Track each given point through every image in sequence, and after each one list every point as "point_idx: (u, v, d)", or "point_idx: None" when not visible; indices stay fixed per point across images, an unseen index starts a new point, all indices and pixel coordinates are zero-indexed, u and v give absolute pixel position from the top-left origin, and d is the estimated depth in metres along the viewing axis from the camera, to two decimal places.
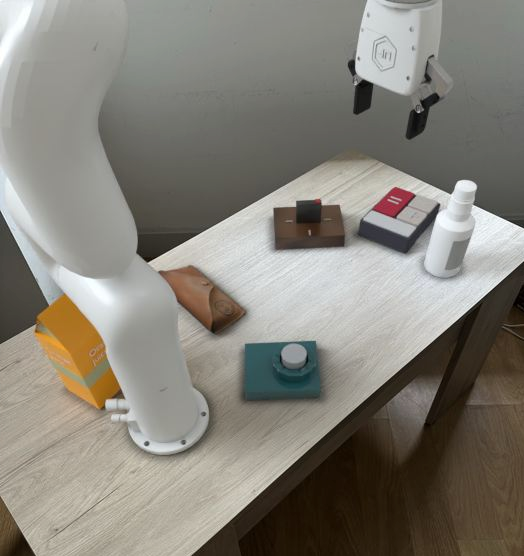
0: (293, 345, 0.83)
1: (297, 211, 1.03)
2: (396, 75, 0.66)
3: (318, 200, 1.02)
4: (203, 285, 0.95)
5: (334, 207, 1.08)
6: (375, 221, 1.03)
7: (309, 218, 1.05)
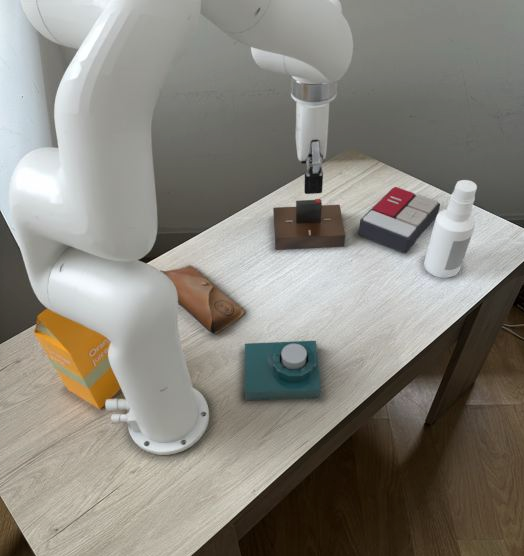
0: (293, 345, 0.83)
1: (297, 211, 1.03)
2: (297, 144, 0.90)
3: (318, 200, 1.02)
4: (203, 285, 0.95)
5: (334, 207, 1.08)
6: (375, 221, 1.03)
7: (309, 218, 1.05)
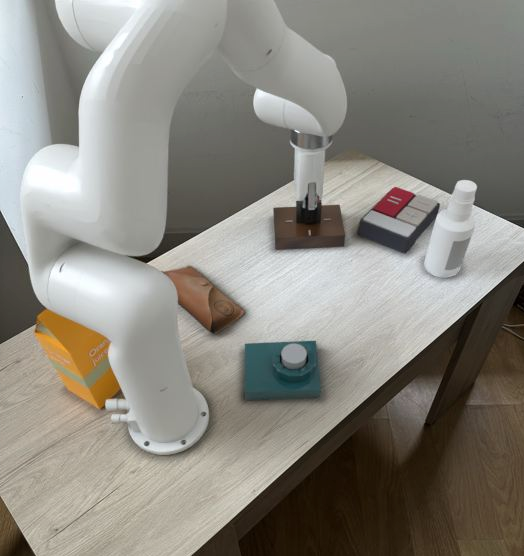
0: (293, 345, 0.83)
1: (297, 211, 1.03)
2: (295, 185, 0.97)
3: (318, 200, 1.02)
4: (202, 285, 0.95)
5: (334, 207, 1.08)
6: (375, 221, 1.03)
7: None
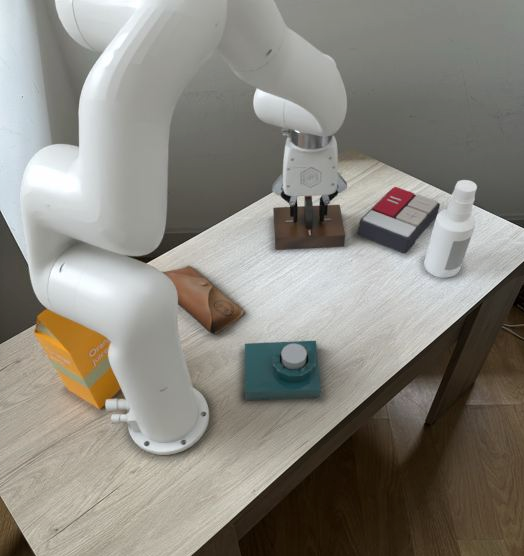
0: (293, 345, 0.83)
1: (312, 215, 1.02)
2: (323, 185, 0.96)
3: None
4: (202, 286, 0.95)
5: (334, 207, 1.08)
6: (375, 221, 1.03)
7: None
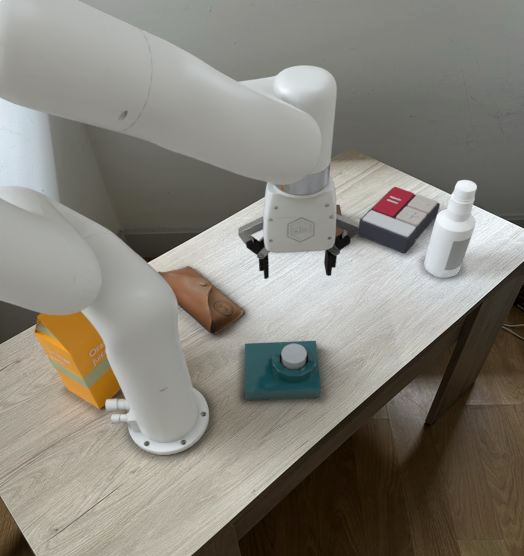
0: (293, 345, 0.83)
1: None
2: (317, 239, 0.73)
3: None
4: (201, 286, 0.95)
5: None
6: (375, 221, 1.03)
7: None
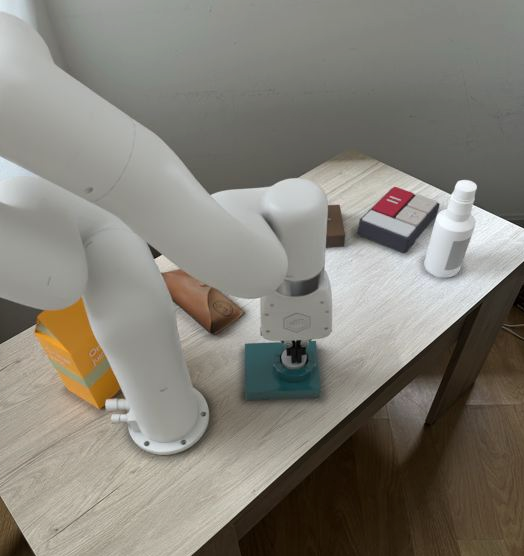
0: None
1: None
2: (313, 330, 0.73)
3: None
4: (201, 286, 0.95)
5: (334, 207, 1.08)
6: (374, 221, 1.03)
7: None
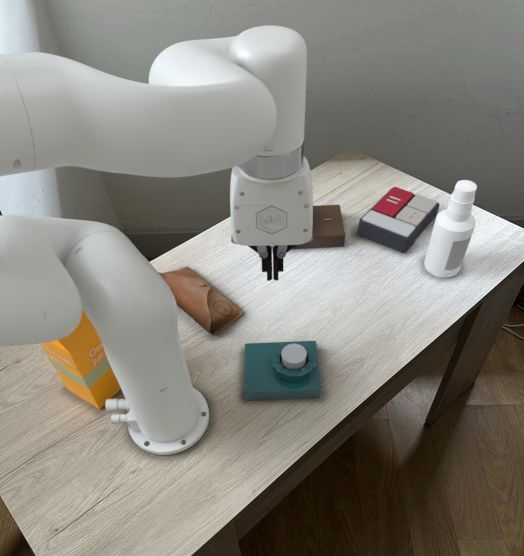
0: (293, 345, 0.83)
1: None
2: (290, 232, 0.64)
3: None
4: (200, 286, 0.95)
5: (334, 207, 1.08)
6: (374, 221, 1.03)
7: None
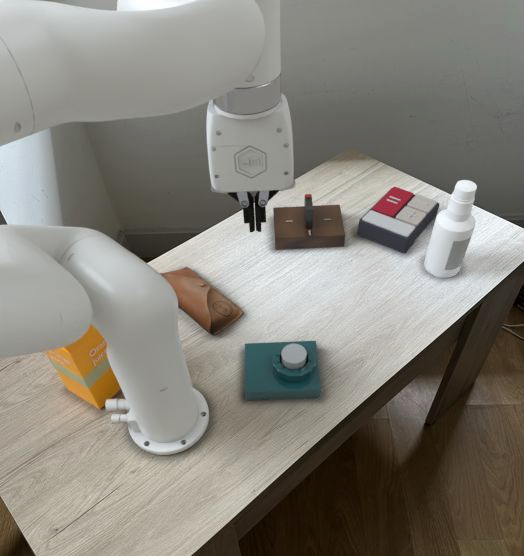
0: (293, 345, 0.83)
1: (312, 215, 1.02)
2: (271, 175, 0.62)
3: (308, 195, 1.03)
4: (200, 286, 0.95)
5: (334, 207, 1.08)
6: (374, 221, 1.03)
7: None
